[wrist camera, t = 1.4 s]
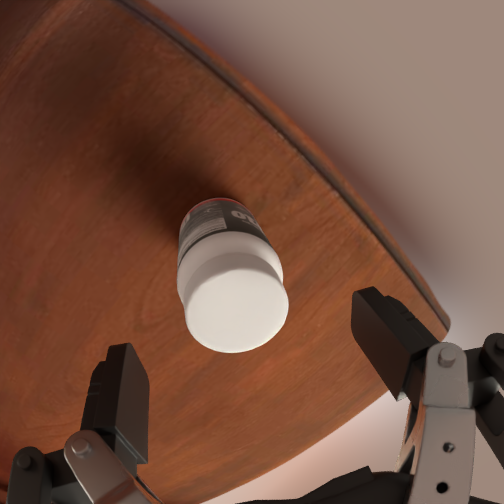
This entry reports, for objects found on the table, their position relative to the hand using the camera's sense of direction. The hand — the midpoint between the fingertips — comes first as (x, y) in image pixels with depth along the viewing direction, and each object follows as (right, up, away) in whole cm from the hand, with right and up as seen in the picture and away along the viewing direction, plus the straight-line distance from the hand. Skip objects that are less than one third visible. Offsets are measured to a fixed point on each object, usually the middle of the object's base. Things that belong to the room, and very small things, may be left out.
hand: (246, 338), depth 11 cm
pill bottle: (-2, +4, +9) cm, 10 cm away
